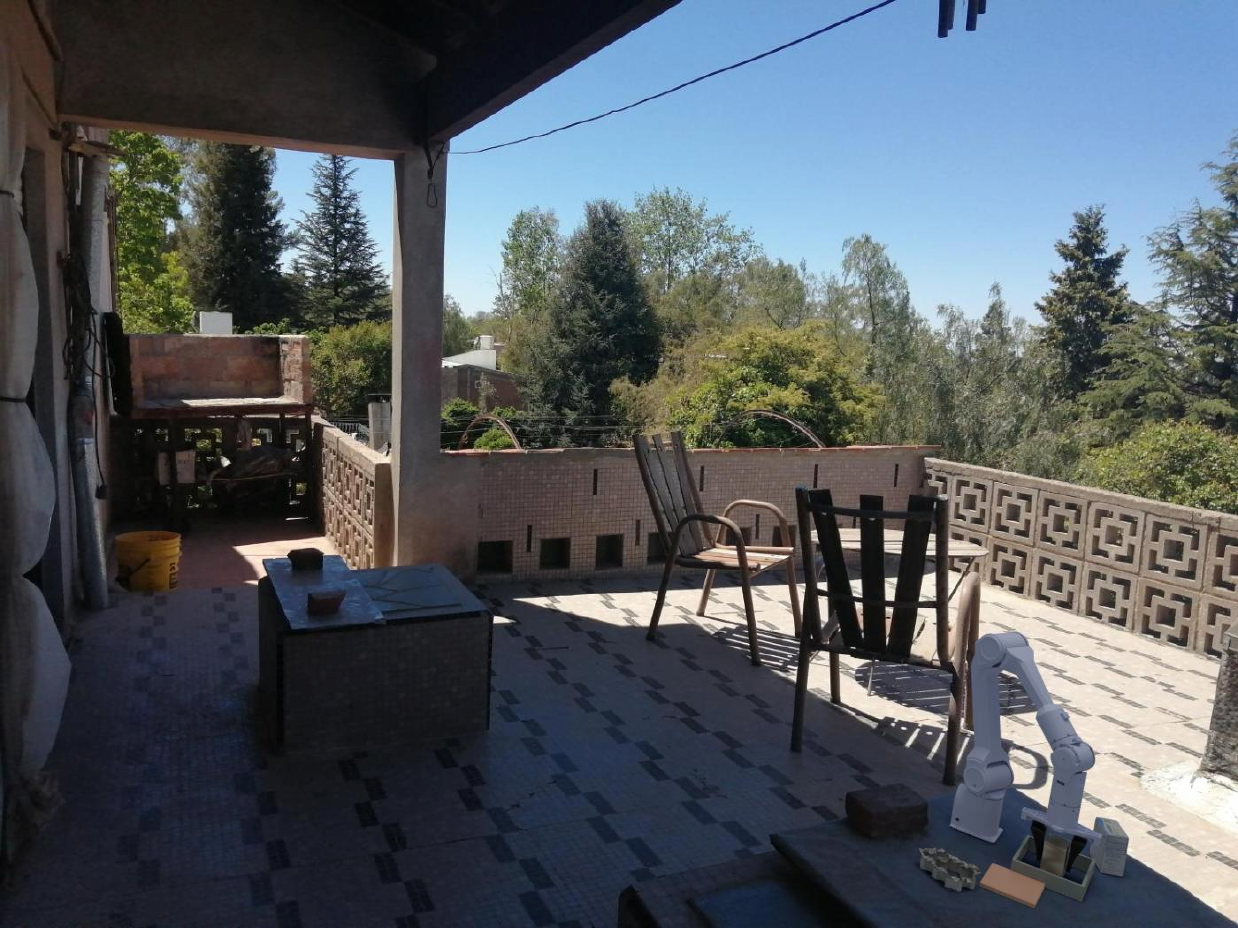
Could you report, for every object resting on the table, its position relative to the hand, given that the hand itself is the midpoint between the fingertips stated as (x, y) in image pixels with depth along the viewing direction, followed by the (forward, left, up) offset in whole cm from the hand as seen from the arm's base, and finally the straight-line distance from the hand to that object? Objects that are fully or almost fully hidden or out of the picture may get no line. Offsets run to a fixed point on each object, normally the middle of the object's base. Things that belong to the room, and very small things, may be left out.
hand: (1053, 864), depth 186 cm
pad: (-5, -12, -2) cm, 13 cm away
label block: (0, 0, -2) cm, 2 cm away
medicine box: (+8, +13, -2) cm, 15 cm away
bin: (0, 0, -2) cm, 2 cm away
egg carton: (-16, -18, -2) cm, 24 cm away
